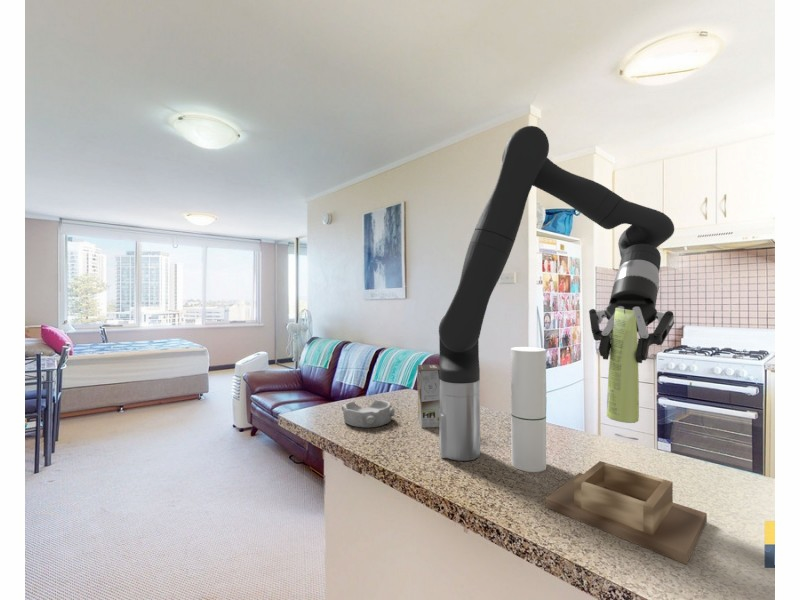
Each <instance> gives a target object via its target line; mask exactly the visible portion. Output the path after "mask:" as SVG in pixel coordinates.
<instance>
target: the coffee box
mask: <svg viewBox="0 0 800 600" xmlns="http://www.w3.org/2000/svg"><path fill="white" fill-rule="evenodd" d="M416 369H417V372H416V373H417V375H416V376H417V377H416V379H417V418H418V419H417V420H418V421H419V424H420V427H421V429H423V428H425V429H426V428H439V409H440V378H439V365H438V364H431V363H430V364H417V368H416Z"/></svg>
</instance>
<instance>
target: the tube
mask: <svg viewBox="0 0 800 600" xmlns="http://www.w3.org/2000/svg"><path fill="white" fill-rule="evenodd" d="M637 345H638V332H637V327H636V317H635V310H626V309H619V308H615V316H614V326H613V330H612V338H611V348H610V353H609V363H608V364H609V365H608V376H607V377H608V378H607V395H606V398H607V399H606V417H608V418H609V420H612V421H615V422H618V423H625V424H635V423H637V422H639V421H640V419H639V417H640V415H639V414H640V410H639V409H640V407H639V406H640V392H639V391H640V389H639V386H640V385H639V382H640V381H639V378H640V377H639V363H637V360H636V351H637Z"/></svg>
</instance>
